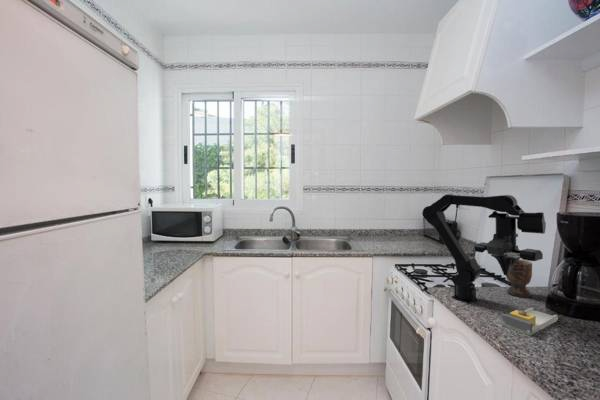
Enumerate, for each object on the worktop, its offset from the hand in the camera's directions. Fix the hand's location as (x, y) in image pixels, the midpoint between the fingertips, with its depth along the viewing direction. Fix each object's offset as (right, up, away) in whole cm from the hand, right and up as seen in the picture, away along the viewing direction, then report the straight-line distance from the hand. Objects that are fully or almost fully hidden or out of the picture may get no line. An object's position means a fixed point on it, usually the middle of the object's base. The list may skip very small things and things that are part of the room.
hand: (506, 275), depth 96 cm
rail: (0, -12, -10) cm, 16 cm away
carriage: (-4, -12, -12) cm, 17 cm away
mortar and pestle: (+14, -11, +12) cm, 21 cm away
